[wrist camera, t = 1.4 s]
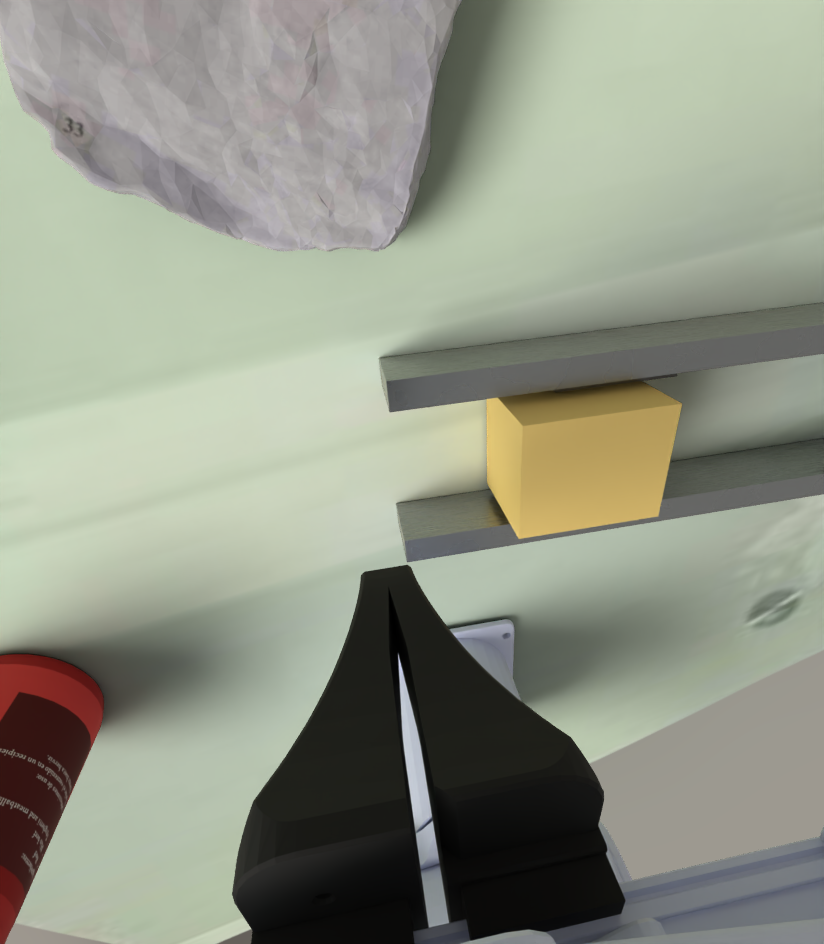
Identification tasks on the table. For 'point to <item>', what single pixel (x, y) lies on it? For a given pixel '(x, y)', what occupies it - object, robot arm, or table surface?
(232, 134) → the stone block
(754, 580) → the table surface
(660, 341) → the chute
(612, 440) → the block
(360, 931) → the robot arm
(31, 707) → the canned food
